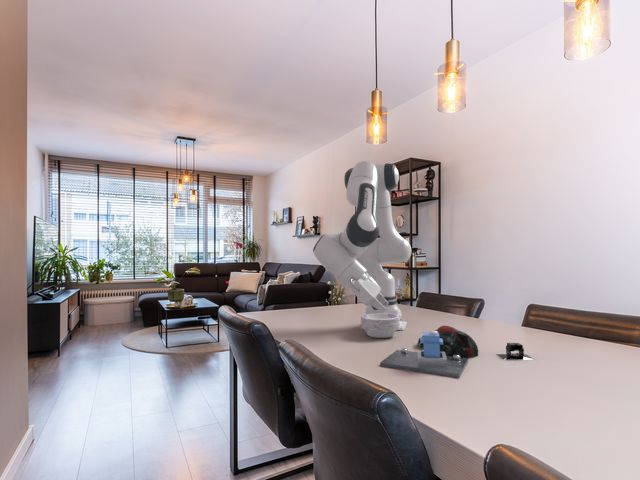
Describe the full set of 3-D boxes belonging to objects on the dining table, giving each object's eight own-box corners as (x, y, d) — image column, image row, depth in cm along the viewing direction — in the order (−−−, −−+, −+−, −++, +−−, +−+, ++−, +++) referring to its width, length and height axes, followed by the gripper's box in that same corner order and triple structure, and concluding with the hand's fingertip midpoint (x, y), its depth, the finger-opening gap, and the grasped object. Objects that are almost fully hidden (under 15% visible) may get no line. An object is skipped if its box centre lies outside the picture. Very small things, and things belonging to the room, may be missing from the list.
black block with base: (499, 361, 115) (499, 346, 115) (490, 354, 122) (489, 340, 122) (541, 362, 114) (540, 346, 114) (529, 355, 121) (529, 341, 121)
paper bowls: (355, 333, 154) (355, 313, 154) (388, 330, 158) (388, 311, 158) (371, 341, 139) (370, 320, 139) (407, 338, 144) (407, 317, 144)
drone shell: (480, 360, 115) (480, 334, 115) (415, 355, 121) (414, 330, 121) (475, 344, 135) (475, 322, 135) (419, 340, 141) (419, 319, 142)
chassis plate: (397, 352, 124) (397, 343, 124) (468, 362, 113) (468, 351, 113) (380, 365, 110) (380, 355, 110) (459, 377, 99) (459, 366, 99)
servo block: (420, 358, 113) (419, 329, 113) (442, 360, 112) (442, 330, 112) (420, 362, 109) (419, 332, 109) (443, 364, 107) (443, 333, 108)
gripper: (355, 272, 107) (390, 307, 104) (364, 266, 126) (395, 296, 124) (340, 287, 108) (375, 322, 105) (352, 279, 128) (381, 309, 125)
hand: (386, 308), depth 115 cm, fingers open, 8 cm apart
